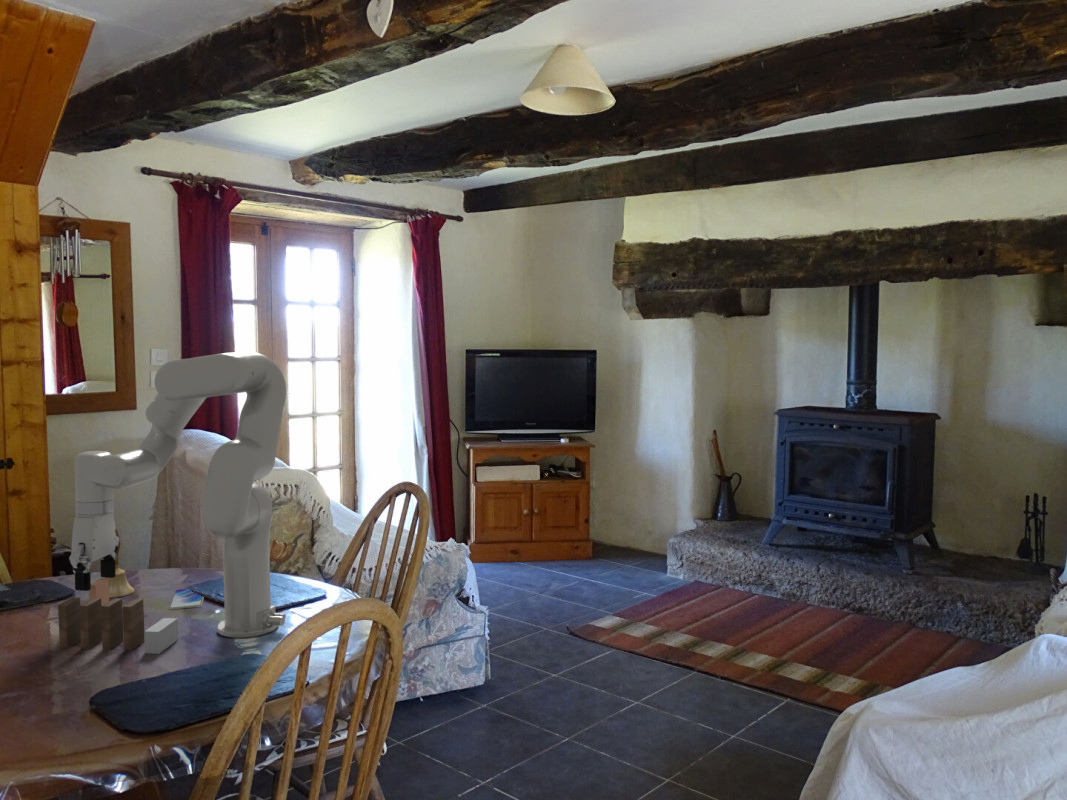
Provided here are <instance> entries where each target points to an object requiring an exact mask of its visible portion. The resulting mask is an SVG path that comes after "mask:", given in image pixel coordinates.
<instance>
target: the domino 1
mask: <svg viewBox="0 0 1067 800" xmlns="http://www.w3.org/2000/svg"><path fill="white" fill-rule="evenodd" d="M80 605H81V597H71V598H70V599H67V600H65V601H63V602H62V603H59V604H57V612H58V634H59V635H58V636H59V649H66V650H67V649H70V648H71V647H72V646H74V645H76V644H78V643H80V642H81V628H80Z"/></svg>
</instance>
